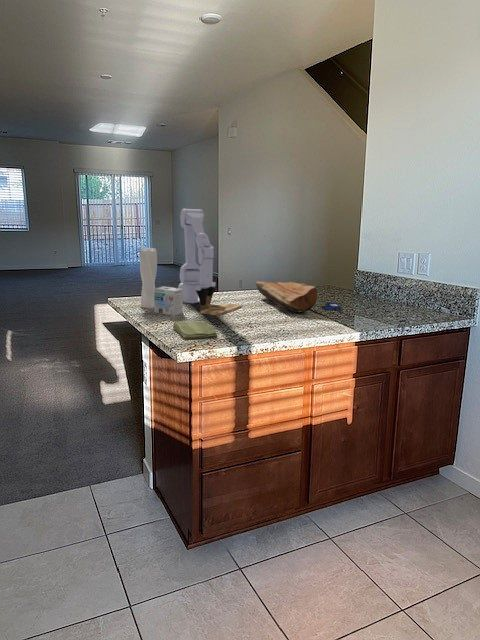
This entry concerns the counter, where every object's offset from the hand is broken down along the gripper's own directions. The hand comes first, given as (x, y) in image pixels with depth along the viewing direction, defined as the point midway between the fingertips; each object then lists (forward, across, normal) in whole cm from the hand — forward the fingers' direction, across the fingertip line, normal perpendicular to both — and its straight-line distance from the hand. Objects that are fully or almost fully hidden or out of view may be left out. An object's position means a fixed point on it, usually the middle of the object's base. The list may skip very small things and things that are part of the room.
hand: (205, 304), depth 210 cm
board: (+2, +4, -6) cm, 8 cm away
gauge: (+2, 0, -4) cm, 5 cm away
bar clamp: (+3, +31, -54) cm, 62 cm away
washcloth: (+3, -38, -17) cm, 42 cm away
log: (+3, +31, -26) cm, 40 cm away
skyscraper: (+3, -9, +24) cm, 26 cm away
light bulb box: (+3, -15, +9) cm, 18 cm away
